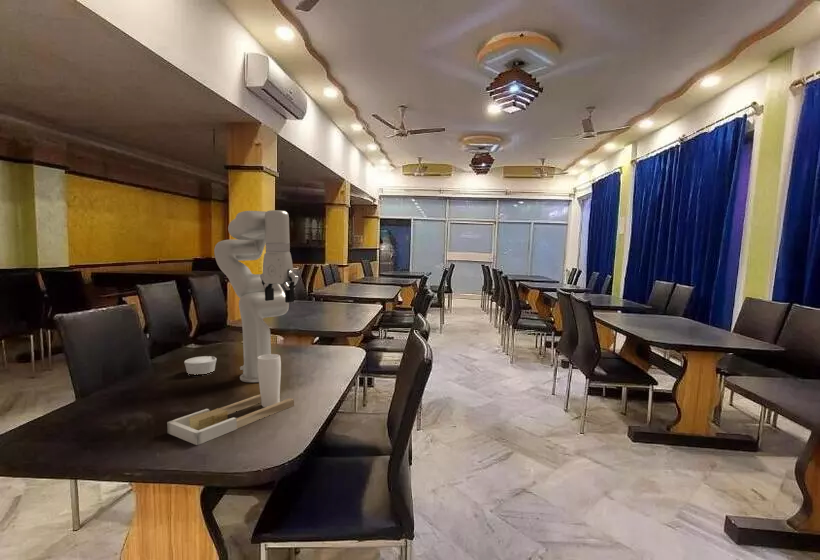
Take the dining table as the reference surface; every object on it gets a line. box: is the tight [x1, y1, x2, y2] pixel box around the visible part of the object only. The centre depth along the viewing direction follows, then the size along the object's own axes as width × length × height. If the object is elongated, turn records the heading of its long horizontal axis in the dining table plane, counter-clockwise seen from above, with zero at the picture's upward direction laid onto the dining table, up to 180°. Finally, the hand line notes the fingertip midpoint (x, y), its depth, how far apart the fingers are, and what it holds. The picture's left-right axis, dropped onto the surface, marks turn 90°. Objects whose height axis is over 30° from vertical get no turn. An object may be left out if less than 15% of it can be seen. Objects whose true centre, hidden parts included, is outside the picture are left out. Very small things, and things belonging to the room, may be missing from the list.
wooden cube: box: [206, 407, 229, 425], centre depth 116 cm, size 4×4×4 cm
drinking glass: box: [257, 353, 282, 408], centre depth 131 cm, size 7×7×15 cm
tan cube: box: [189, 413, 213, 430], centre depth 113 cm, size 4×4×4 cm
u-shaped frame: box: [166, 408, 238, 446], centre depth 113 cm, size 13×11×3 cm
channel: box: [218, 394, 295, 429], centre depth 126 cm, size 13×20×2 cm, turn 147°
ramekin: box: [183, 355, 217, 375], centre depth 168 cm, size 11×11×5 cm
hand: (279, 301), depth 142 cm, fingers open, 9 cm apart
